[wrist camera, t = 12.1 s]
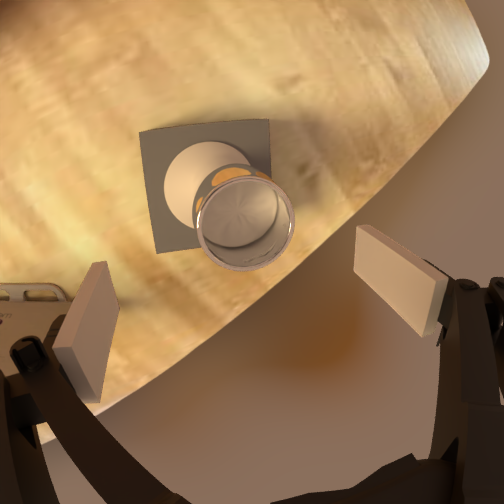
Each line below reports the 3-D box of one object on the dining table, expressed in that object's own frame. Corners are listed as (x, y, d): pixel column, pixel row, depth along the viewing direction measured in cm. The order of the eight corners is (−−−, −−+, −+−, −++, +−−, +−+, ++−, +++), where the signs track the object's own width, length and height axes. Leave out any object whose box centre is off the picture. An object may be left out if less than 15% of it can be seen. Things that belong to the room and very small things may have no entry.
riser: (146, 130, 38) (138, 132, 30) (252, 119, 40) (269, 118, 33) (160, 231, 43) (156, 255, 36) (258, 218, 46) (274, 238, 38)
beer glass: (181, 159, 32) (182, 186, 19) (245, 146, 33) (291, 164, 20) (195, 220, 35) (206, 284, 22) (255, 206, 36) (302, 261, 23)
